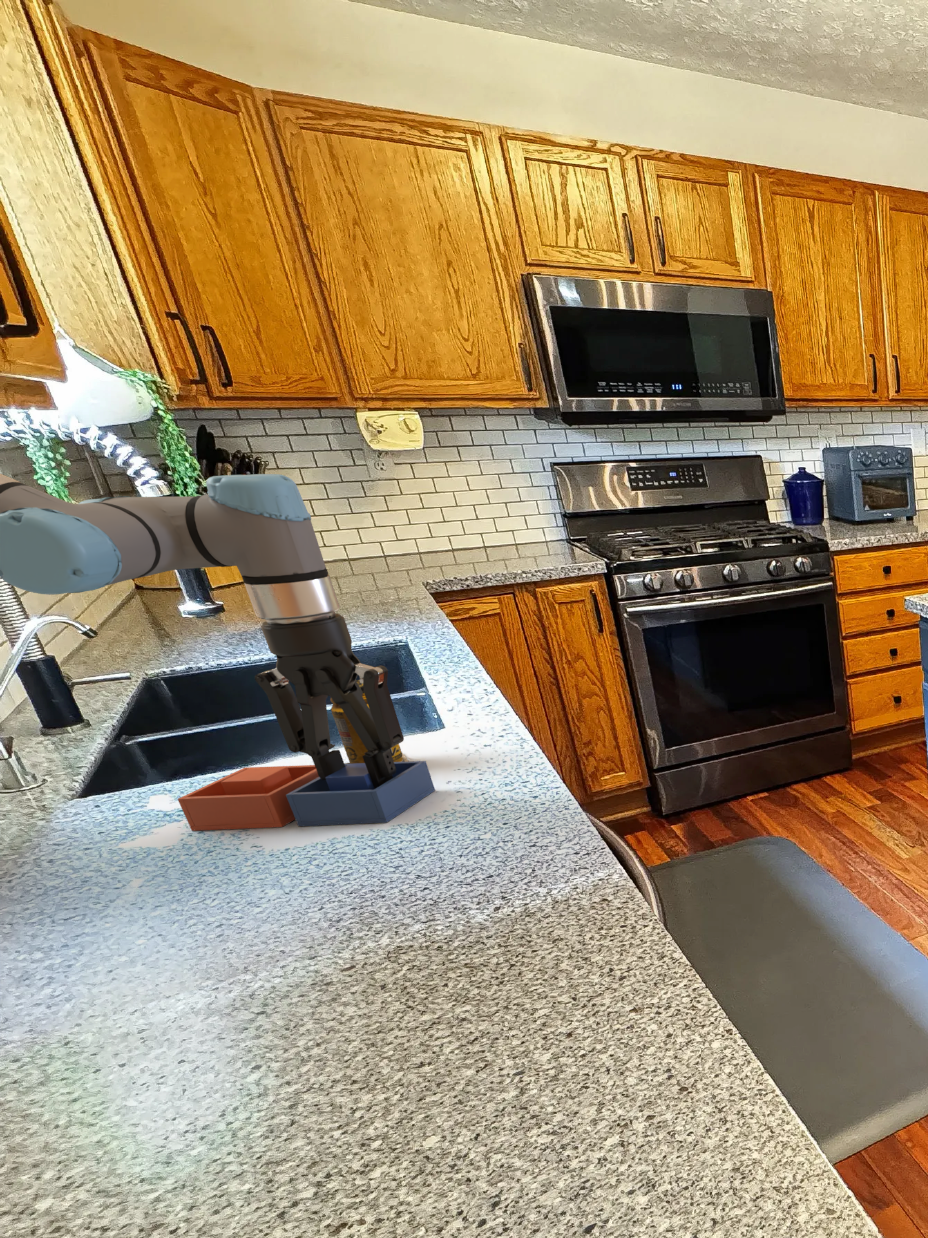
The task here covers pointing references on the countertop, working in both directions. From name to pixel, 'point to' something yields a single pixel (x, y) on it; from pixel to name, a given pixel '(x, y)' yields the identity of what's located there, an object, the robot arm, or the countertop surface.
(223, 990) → the countertop surface
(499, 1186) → the countertop surface
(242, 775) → the terracotta block
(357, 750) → the condiment
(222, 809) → the terracotta bin
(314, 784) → the blue bin
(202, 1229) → the countertop surface
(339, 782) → the blue block
